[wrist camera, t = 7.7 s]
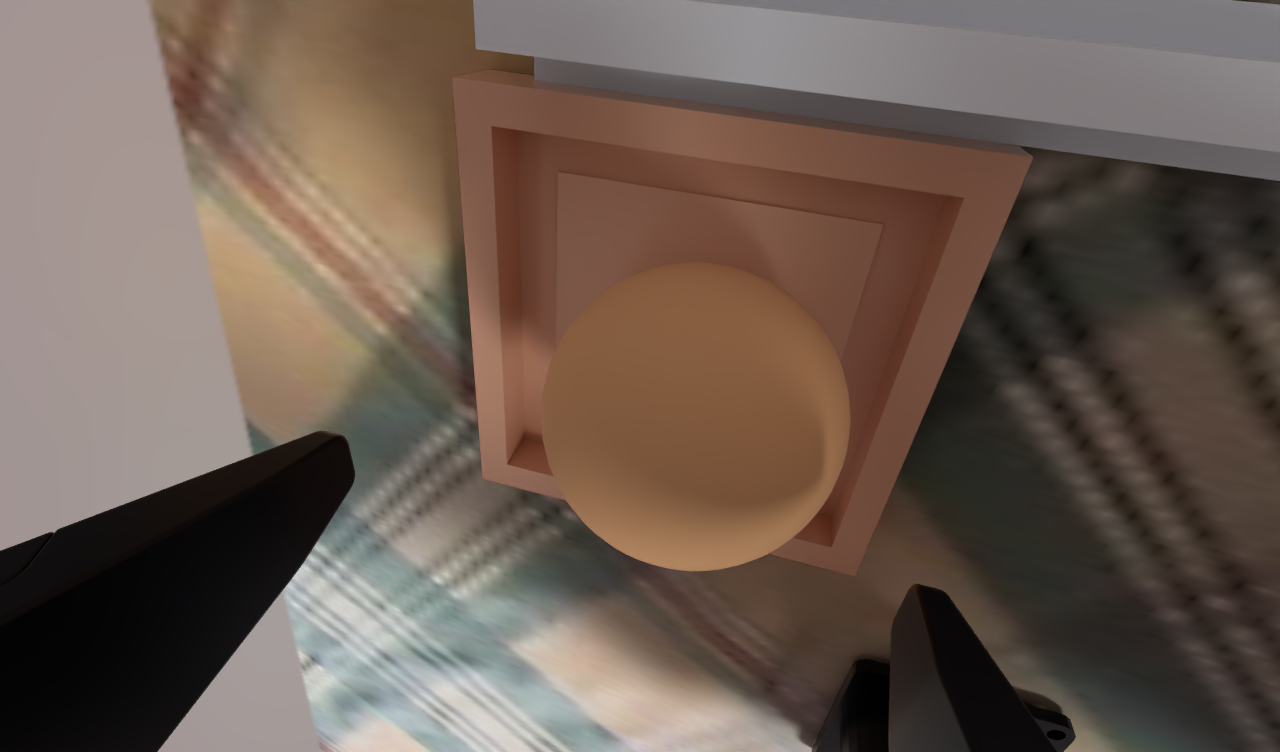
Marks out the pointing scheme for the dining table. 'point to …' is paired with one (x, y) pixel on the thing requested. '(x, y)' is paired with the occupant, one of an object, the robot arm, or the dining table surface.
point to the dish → (722, 253)
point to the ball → (695, 416)
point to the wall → (940, 67)
